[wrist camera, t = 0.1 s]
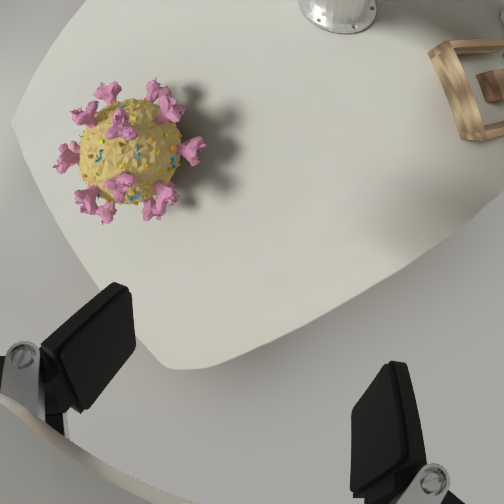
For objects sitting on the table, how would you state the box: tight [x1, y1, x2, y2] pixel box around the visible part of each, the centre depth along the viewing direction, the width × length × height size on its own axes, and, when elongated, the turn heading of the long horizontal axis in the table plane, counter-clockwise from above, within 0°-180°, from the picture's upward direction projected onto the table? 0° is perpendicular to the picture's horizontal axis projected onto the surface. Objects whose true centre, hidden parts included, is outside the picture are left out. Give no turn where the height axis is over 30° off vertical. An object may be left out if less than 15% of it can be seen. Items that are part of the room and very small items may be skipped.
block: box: [476, 69, 504, 102], centre depth 24 cm, size 5×5×6 cm
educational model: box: [52, 77, 207, 225], centre depth 36 cm, size 23×22×20 cm
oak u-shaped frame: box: [428, 39, 504, 141], centre depth 25 cm, size 15×16×7 cm
